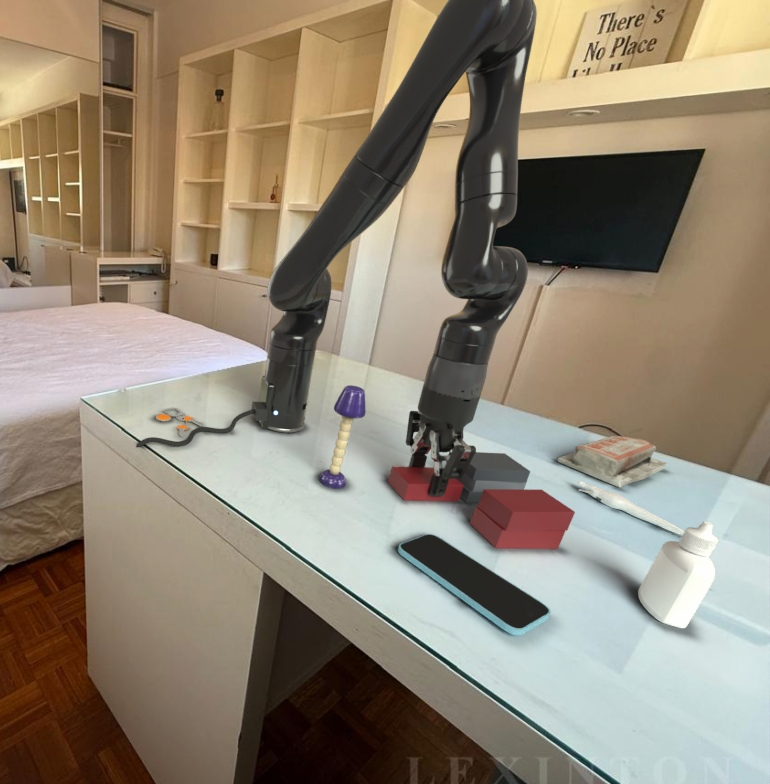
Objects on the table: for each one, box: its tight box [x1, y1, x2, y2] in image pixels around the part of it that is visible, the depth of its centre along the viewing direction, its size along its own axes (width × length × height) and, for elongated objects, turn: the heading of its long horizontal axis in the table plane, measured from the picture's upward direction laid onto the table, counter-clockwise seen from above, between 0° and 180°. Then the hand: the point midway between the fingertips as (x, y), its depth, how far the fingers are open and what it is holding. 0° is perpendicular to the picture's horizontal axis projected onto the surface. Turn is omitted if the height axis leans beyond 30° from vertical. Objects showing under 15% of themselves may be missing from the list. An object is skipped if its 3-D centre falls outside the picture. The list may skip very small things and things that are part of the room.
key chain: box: [155, 407, 203, 437], centre depth 93 cm, size 13×7×1 cm, turn 30°
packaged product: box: [557, 435, 668, 488], centre depth 85 cm, size 18×5×10 cm
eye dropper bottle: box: [637, 520, 719, 629], centre depth 50 cm, size 4×6×12 cm
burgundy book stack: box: [469, 489, 576, 550], centre depth 63 cm, size 9×6×6 cm, turn 93°
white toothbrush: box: [577, 480, 685, 536], centre depth 71 cm, size 15×3×2 cm, turn 22°
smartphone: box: [397, 533, 552, 636], centre depth 54 cm, size 7×1×15 cm
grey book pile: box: [454, 451, 531, 504], centre depth 73 cm, size 9×6×6 cm
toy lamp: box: [318, 384, 366, 490], centre depth 72 cm, size 5×5×17 cm
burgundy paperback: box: [387, 465, 464, 502], centre depth 73 cm, size 9×5×3 cm, turn 93°
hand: (424, 484), depth 73 cm, fingers closed on burgundy paperback, 5 cm apart
